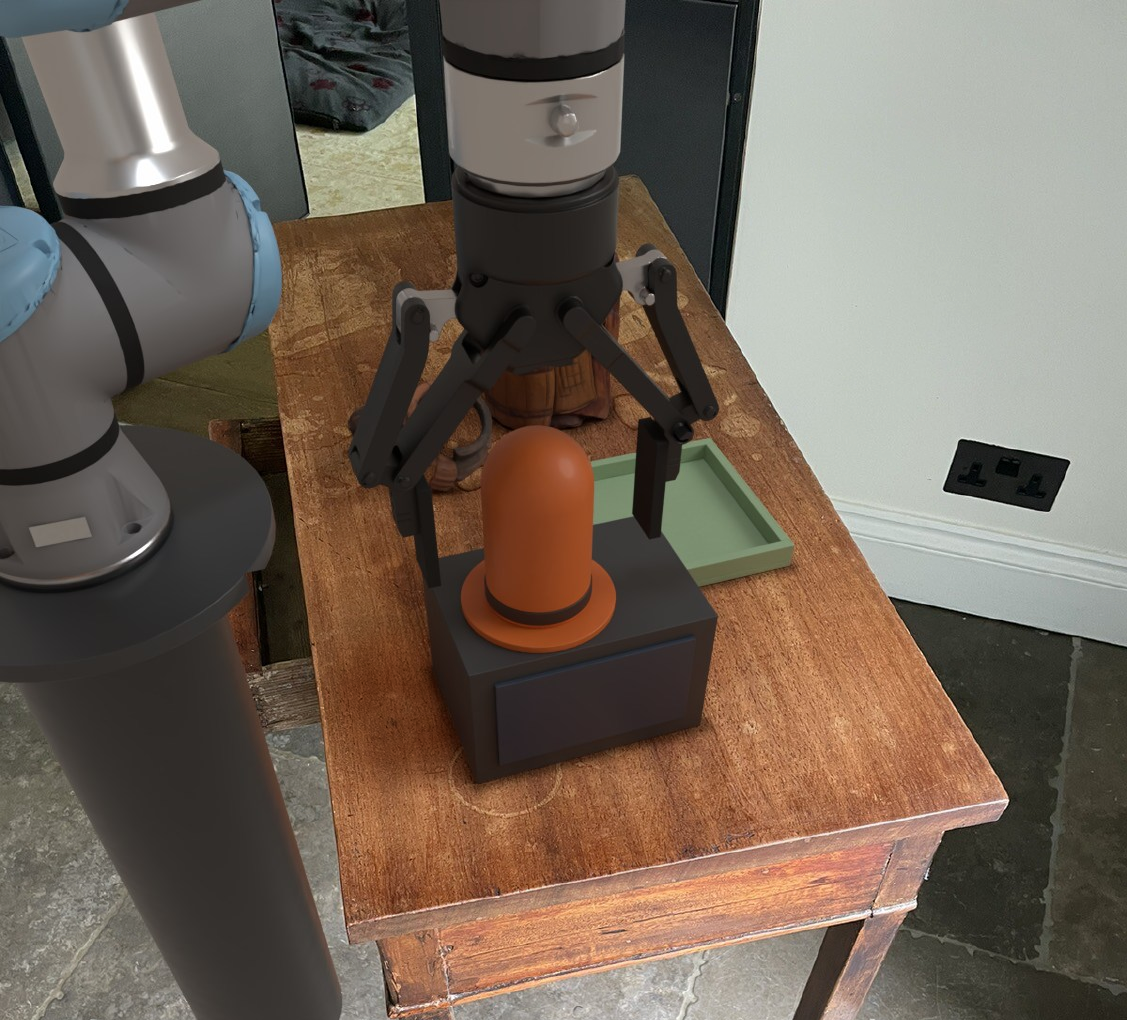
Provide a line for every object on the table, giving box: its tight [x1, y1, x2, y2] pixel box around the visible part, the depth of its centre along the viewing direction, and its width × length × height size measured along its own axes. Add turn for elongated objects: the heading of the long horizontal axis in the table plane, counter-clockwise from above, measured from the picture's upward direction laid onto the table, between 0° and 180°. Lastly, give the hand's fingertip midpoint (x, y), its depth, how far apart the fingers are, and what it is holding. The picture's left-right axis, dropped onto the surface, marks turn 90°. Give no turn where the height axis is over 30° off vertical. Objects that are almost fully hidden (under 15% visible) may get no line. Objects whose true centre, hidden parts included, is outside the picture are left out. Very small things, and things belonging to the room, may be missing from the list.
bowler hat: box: [461, 425, 616, 653], centre depth 62 cm, size 10×10×12 cm
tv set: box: [421, 516, 719, 785], centre depth 71 cm, size 11×16×10 cm
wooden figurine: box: [480, 250, 621, 430], centre depth 91 cm, size 12×6×18 cm, turn 105°
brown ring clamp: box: [347, 379, 493, 492], centre depth 91 cm, size 12×10×8 cm
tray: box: [590, 437, 795, 588], centre depth 87 cm, size 16×16×2 cm
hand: (540, 549), depth 63 cm, fingers open, 13 cm apart
